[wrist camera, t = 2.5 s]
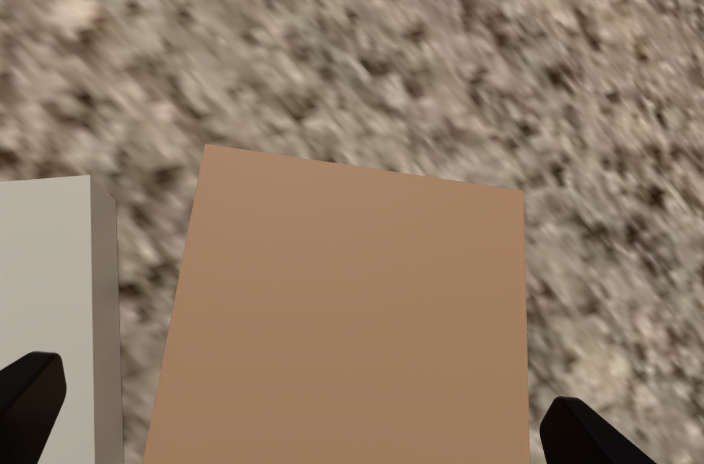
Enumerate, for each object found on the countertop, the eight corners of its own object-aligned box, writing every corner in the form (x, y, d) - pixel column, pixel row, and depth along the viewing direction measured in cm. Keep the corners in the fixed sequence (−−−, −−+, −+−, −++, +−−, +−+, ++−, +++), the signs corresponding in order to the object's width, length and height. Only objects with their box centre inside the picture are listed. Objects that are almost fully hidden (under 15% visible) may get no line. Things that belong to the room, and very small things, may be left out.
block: (353, 417, 16) (531, 548, 5) (234, 409, 16) (128, 532, 4) (362, 301, 18) (523, 190, 6) (251, 289, 17) (205, 144, 6)
